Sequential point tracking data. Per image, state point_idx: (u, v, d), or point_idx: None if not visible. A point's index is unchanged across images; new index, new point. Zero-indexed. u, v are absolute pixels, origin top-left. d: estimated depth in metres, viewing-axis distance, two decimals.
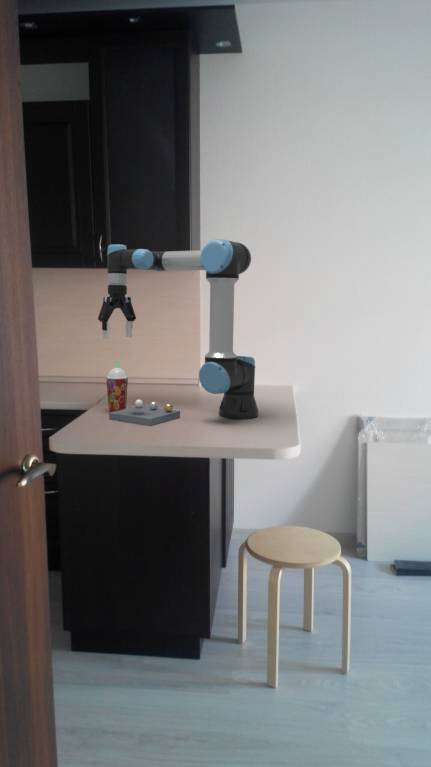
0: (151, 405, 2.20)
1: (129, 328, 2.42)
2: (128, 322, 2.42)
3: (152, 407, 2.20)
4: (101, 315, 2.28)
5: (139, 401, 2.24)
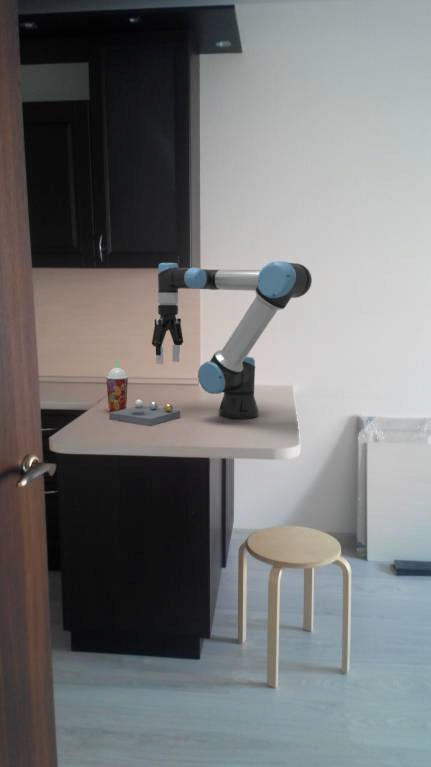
0: (151, 405, 2.20)
1: (176, 352, 2.30)
2: (175, 346, 2.30)
3: (152, 407, 2.20)
4: (155, 340, 2.19)
5: (139, 401, 2.24)
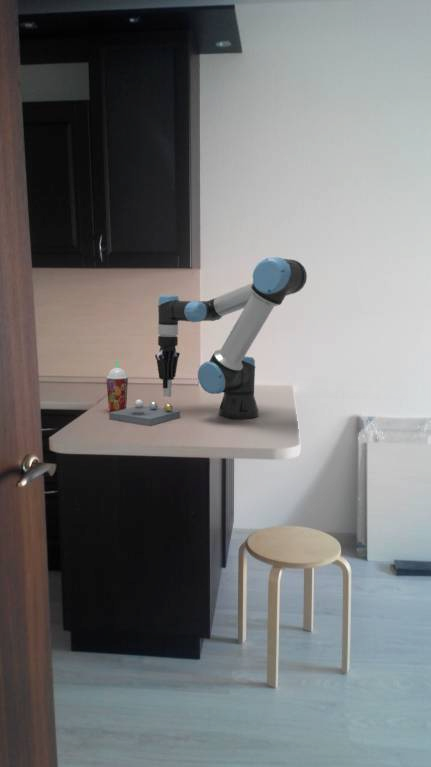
0: (151, 405, 2.20)
1: None
2: None
3: (152, 407, 2.20)
4: (161, 374, 2.24)
5: (139, 401, 2.24)
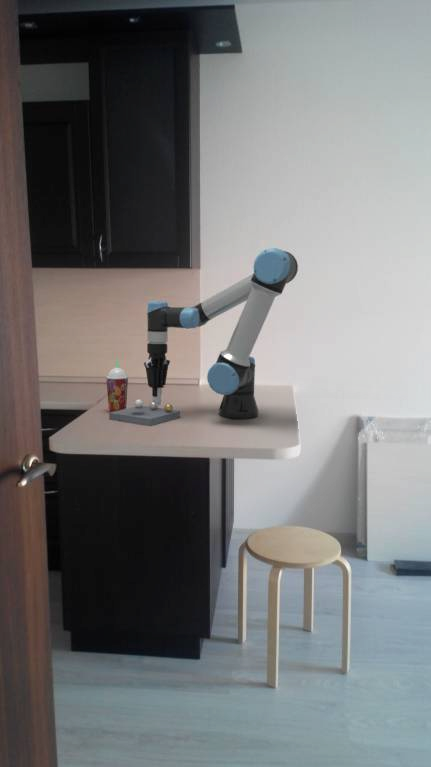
0: (151, 405, 2.20)
1: None
2: None
3: (152, 407, 2.20)
4: (150, 382, 2.19)
5: (139, 401, 2.24)
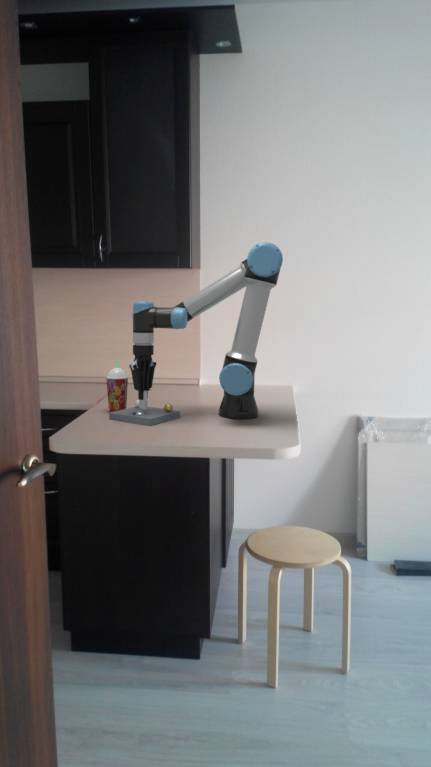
0: (139, 414, 2.13)
1: None
2: None
3: None
4: (136, 385, 2.12)
5: None
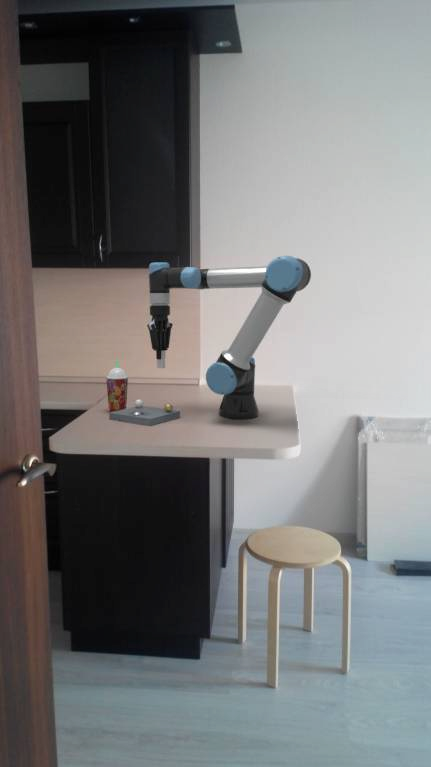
0: None
1: None
2: None
3: None
4: (154, 345, 2.18)
5: (139, 401, 2.24)
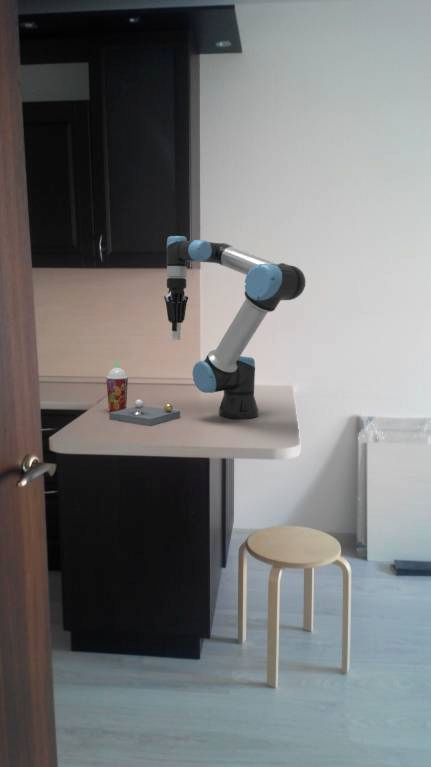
0: None
1: None
2: None
3: None
4: (170, 316, 2.24)
5: (139, 401, 2.24)
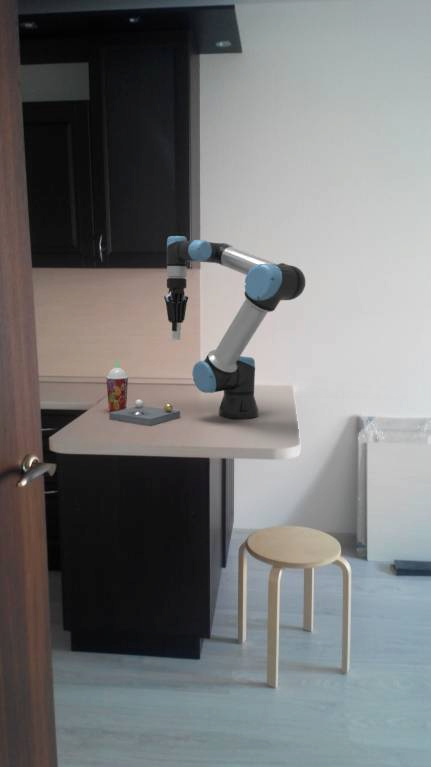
0: None
1: None
2: None
3: None
4: (170, 316, 2.24)
5: (139, 401, 2.24)
